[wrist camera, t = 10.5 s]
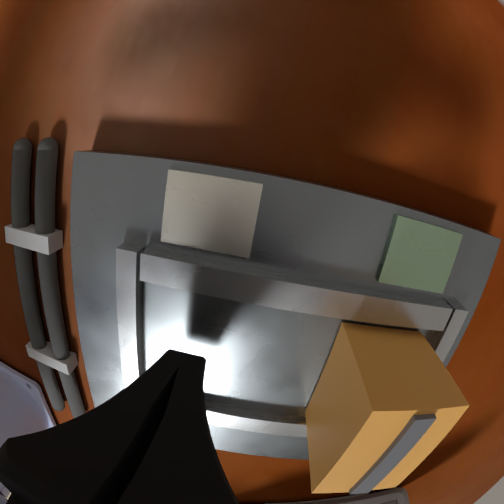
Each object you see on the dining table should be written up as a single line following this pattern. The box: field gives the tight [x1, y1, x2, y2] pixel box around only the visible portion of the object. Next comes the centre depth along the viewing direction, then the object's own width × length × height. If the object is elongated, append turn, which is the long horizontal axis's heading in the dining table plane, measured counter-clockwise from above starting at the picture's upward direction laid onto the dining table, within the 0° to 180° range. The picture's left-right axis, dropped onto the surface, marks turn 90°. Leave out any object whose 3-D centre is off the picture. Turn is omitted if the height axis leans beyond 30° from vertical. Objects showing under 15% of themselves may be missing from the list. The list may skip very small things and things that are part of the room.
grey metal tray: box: [70, 150, 501, 460], centre depth 12 cm, size 17×14×2 cm
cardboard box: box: [305, 322, 469, 494], centre depth 9 cm, size 4×5×5 cm
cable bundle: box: [5, 138, 86, 418], centre depth 12 cm, size 3×17×1 cm, turn 170°
